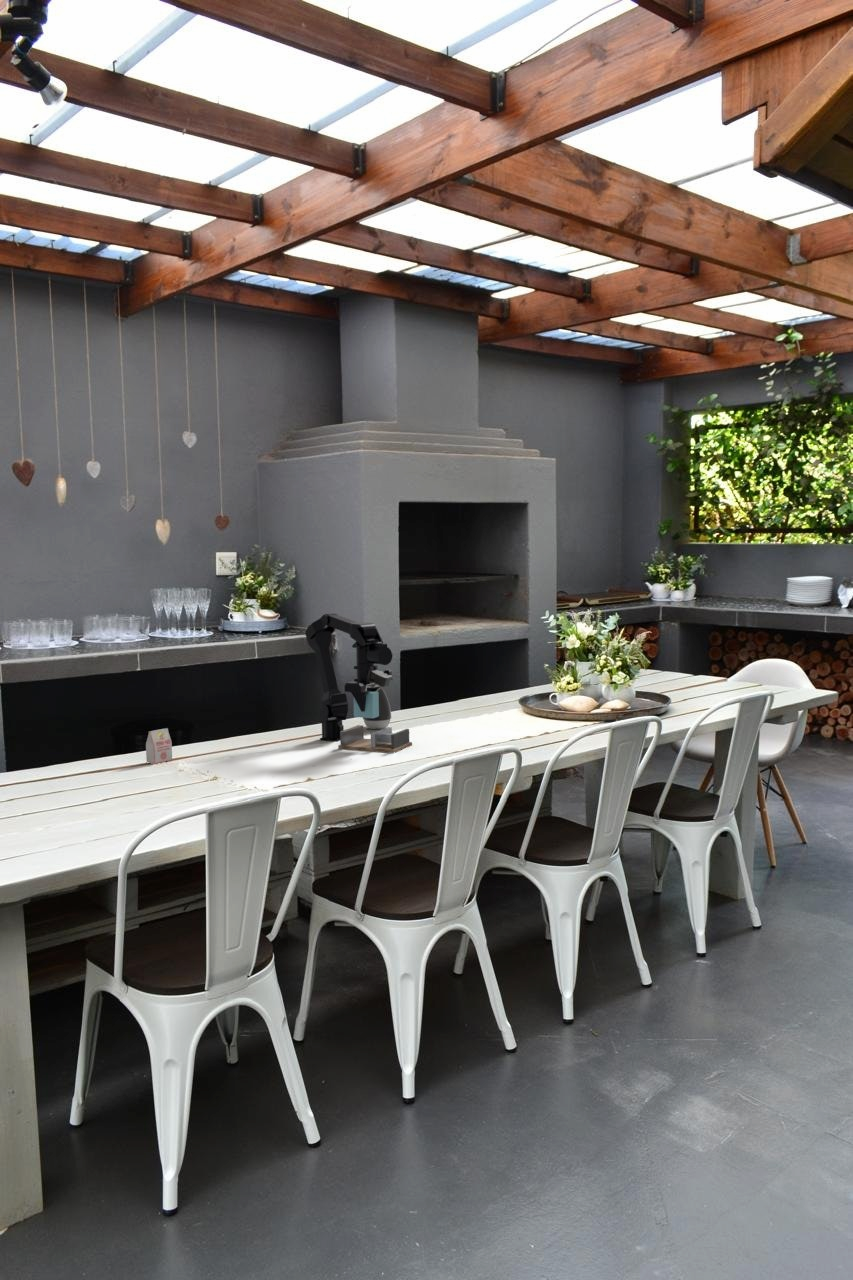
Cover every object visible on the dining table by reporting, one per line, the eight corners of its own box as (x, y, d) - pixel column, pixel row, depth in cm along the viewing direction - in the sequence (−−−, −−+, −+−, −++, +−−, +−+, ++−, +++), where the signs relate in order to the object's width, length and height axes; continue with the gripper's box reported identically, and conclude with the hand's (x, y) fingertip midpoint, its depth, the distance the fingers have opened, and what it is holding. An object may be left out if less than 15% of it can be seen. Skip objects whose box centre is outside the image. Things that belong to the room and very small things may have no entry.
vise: (338, 748, 325) (338, 731, 325) (357, 741, 337) (357, 724, 337) (394, 752, 317) (393, 735, 316) (412, 745, 329) (411, 728, 328)
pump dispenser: (361, 726, 365) (360, 684, 363) (390, 725, 366) (389, 683, 365) (363, 731, 355) (361, 688, 353) (392, 730, 356) (391, 687, 354)
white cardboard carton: (146, 763, 308) (145, 730, 307) (164, 759, 314) (163, 727, 313) (154, 764, 306) (152, 732, 305) (172, 760, 311) (171, 728, 310)
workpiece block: (353, 716, 327) (353, 692, 326) (359, 714, 330) (359, 690, 330) (373, 718, 324) (372, 693, 323) (378, 716, 327) (378, 691, 327)
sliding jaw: (370, 747, 321) (370, 733, 320) (387, 740, 332) (387, 727, 331) (393, 749, 318) (393, 735, 317) (410, 741, 328) (409, 728, 328)
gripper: (373, 667, 313) (374, 716, 315) (400, 660, 330) (401, 707, 332) (342, 665, 318) (343, 714, 320) (370, 658, 335) (371, 705, 337)
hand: (366, 710), depth 327 cm, fingers closed on workpiece block, 4 cm apart
